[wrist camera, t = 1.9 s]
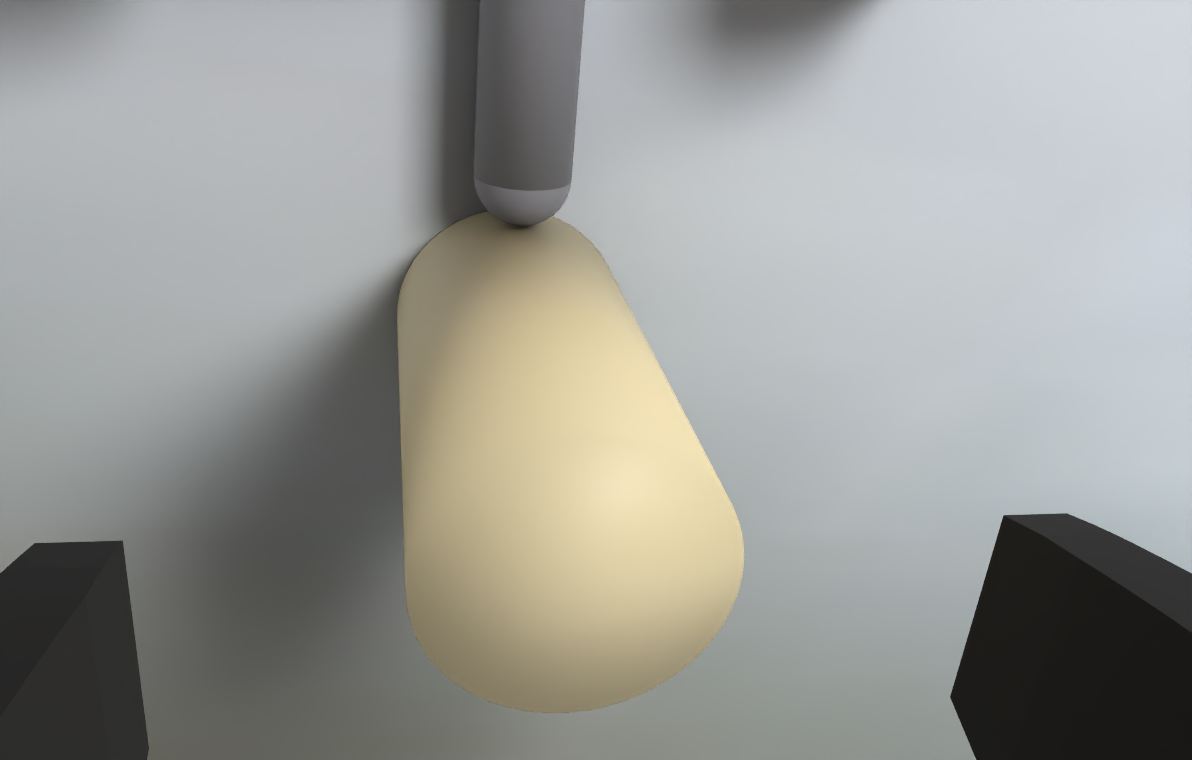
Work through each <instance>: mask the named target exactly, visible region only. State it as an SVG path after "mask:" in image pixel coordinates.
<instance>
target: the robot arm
mask: <svg viewBox="0 0 1192 760" xmlns="http://www.w3.org/2000/svg"><path fill="white" fill-rule="evenodd" d="M950 698H951V700H952V703H953V705H954V707H955V710H956V712H957V715H958V717H959V719H960V722H961V724H962V727H963V729H964V731H965V734H966V736H967V739H968V741H969V743H970V746H971V748H972V751H973V753H974V755H975V757H976V760H1192V574H1191V573H1190V572H1188V571H1186V570H1184V569H1182V568H1180V567H1178V566H1176V565H1174V564H1172V563H1171V562H1169V561H1167V560H1165V559H1163V558H1161V557H1159V556H1157V555H1155V554H1153V553H1151V552H1149V551H1147V550H1145V549H1143V548H1141V547H1139V546H1137V545H1135V544H1133V543H1131V542H1129V541H1127V540H1125V539H1123V538H1121V537H1119V536H1117V535H1115V534H1113V533H1111V532H1109V531H1106V530H1104V529H1102V528H1100V527H1098V526H1095V525H1093V524H1091V523H1088V522H1086V521H1084V520H1081V519H1079V518H1076V517H1074V516H1072V515H1069V514H1034V515H1004V516H1003V519H1002V523H1001V526H1000V529H999V533H998V536H997V540H996V543H995V546H994V550H993V553H992V557H991V560H990V563H989V567H988V570H987V574H986V577H985V580H984V584H983V587H982V591H981V594H980V597H979V601H978V604H977V608H976V611H975V614H974V618H973V621H972V625H971V628H970V632H969V635H968V638H967V642H966V645H965V649H964V652H963V655H962V659H961V662H960V666H959V669H958V672H957V676H956V679H955V683H954V686H953V689H952V693H951V696H950ZM148 750H149V746H148V739H147V731H146V723H145V715H144V707H143V699H142V691H141V683H140V675H139V667H138V659H137V651H136V643H135V635H134V627H133V619H132V611H131V603H130V595H129V587H128V579H127V571H126V563H125V556H124V548H123V541H99V542H64V543H34V544H33V545H32V546H31V547H30V548H29V549H27V550H26V551H25V552H24V553H23V554H22V555H20V556H19V557H18V558H17V559H16V560H15V561H14V562H12V563H11V564H10V565H9V566H8V567H7V568H6V569H5V570H4V571H2V572H1V573H0V760H147V756H148Z"/></svg>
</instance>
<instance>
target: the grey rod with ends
mask: <svg viewBox="0 0 1192 760" xmlns="http://www.w3.org/2000/svg"><path fill="white" fill-rule="evenodd" d="M584 6H585V0H480V8H479V36H478V63H477V91H476V119H475V147H474V185H475V189H476V193H477V195H478V197H479V199H480V201H481V203H482V204H483V206H484V207H485V208H486V209H487V212H483V213H479V214H476V215H473V216H470V217H467V218H465V219H463V220H460V221H458V222H456V223H454V224H453V225H451V226H449V227H448V228H446V229H444V230H443V231H442V232H440V233H439V234H438V235H437V236H435V237H434V238H433V239H432V240H431V241H430V242H429V243H428V244H427V245H426V246H425V247H424V248H423V249H422V250H421V251H420V253H419V254H418V255H417V257H416V258H415V259H414V261H413V262H412V264H411V266H410V268H409V270H408V271H407V273H406V276H405V278H404V281H403V284H402V286H401V290H400V294H399V299H398V308H397V329H398V362H399V395H400V428H401V461H402V494H403V527H404V560H405V590H406V604H407V610H408V614H409V618H410V623H411V626H412V628H413V630H414V633H415V635H416V637H417V640H418V642H419V643H420V645H421V647H422V648H423V650H424V651H425V653H426V655H427V656H428V657H429V659H430V660H431V661H432V662H433V663H434V664H435V665H436V667H437V668H438V669H439V670H440V671H441V672H442V673H444V674H445V675H446V676H447V677H448V678H449V679H451V680H452V681H453V682H454V683H456V684H457V685H459V686H460V687H462V688H463V689H465V690H467V691H468V692H470V693H472V694H474V695H476V696H478V697H480V698H482V699H485V700H487V701H489V702H492V703H496V704H499V705H502V706H505V707H509V708H513V709H518V710H523V711H530V712H541V713H569V712H579V711H587V710H592V709H597V708H602V707H606V706H610V705H613V704H616V703H620V702H623V701H626V700H629V699H631V698H633V697H636V696H638V695H640V694H643V693H645V692H647V691H649V690H651V689H653V688H655V687H656V686H658V685H660V684H662V683H664V682H665V681H667V680H668V679H670V678H671V677H673V676H674V675H676V674H677V673H678V672H680V671H681V670H683V669H684V668H685V667H686V666H687V665H688V664H690V663H691V662H692V661H693V660H694V659H695V658H697V657H698V655H699V654H700V653H701V652H702V651H703V650H704V649H705V648H706V647H707V646H708V645H709V644H710V643H711V641H712V640H713V639H714V637H715V636H716V635H717V633H718V632H719V630H720V629H721V628H722V626H723V624H724V623H725V621H726V619H727V617H728V616H729V614H730V612H731V610H732V607H733V605H734V603H735V600H736V598H737V595H738V592H739V588H740V584H741V580H742V576H743V566H744V545H743V537H742V532H741V528H740V523H739V521H738V518H737V516H736V513H735V511H734V508H733V506H732V504H731V502H730V500H729V498H728V496H727V494H726V492H725V490H724V488H723V486H722V484H721V483H720V481H719V479H718V477H717V475H716V473H715V471H714V469H713V467H712V465H711V463H710V461H709V459H708V458H707V456H706V454H705V452H704V450H703V448H702V446H701V444H700V442H699V440H698V438H697V436H696V434H695V433H694V431H693V429H692V427H691V425H690V423H689V421H688V419H687V417H686V415H685V413H684V411H683V409H682V407H681V406H680V404H679V402H678V400H677V398H676V396H675V394H674V392H673V390H672V388H671V386H670V384H669V382H668V381H667V379H666V377H665V375H664V373H663V371H662V369H661V367H660V365H659V363H658V361H657V359H656V357H655V356H654V354H653V352H652V350H651V348H650V346H649V344H648V342H647V340H646V338H645V336H644V334H643V332H642V331H641V329H640V327H639V325H638V323H637V321H636V319H635V317H634V315H633V313H632V311H631V309H630V307H629V306H628V304H627V302H626V300H625V298H624V296H623V294H622V292H621V290H620V288H619V286H618V284H617V282H616V280H615V279H614V277H613V275H612V273H611V271H610V269H609V267H608V265H607V263H606V262H605V260H604V258H603V257H602V255H601V253H600V252H599V251H598V250H597V248H596V247H595V246H594V245H593V243H592V242H591V241H589V240H588V239H587V238H586V237H585V236H584V235H583V234H582V233H581V232H579V231H578V230H576V229H575V228H574V227H572V226H571V225H569V224H567V223H565V222H563V221H561V220H559V219H557V218H555V217H552V216H553V215H554V214H555V213H556V212H557V211H558V210H559V209H560V208H561V206H562V205H563V203H564V202H565V200H566V198H567V196H568V193H569V190H570V185H571V177H572V164H573V151H574V138H575V125H576V111H577V98H578V85H579V72H580V59H581V45H582V32H583V19H584Z"/></svg>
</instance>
